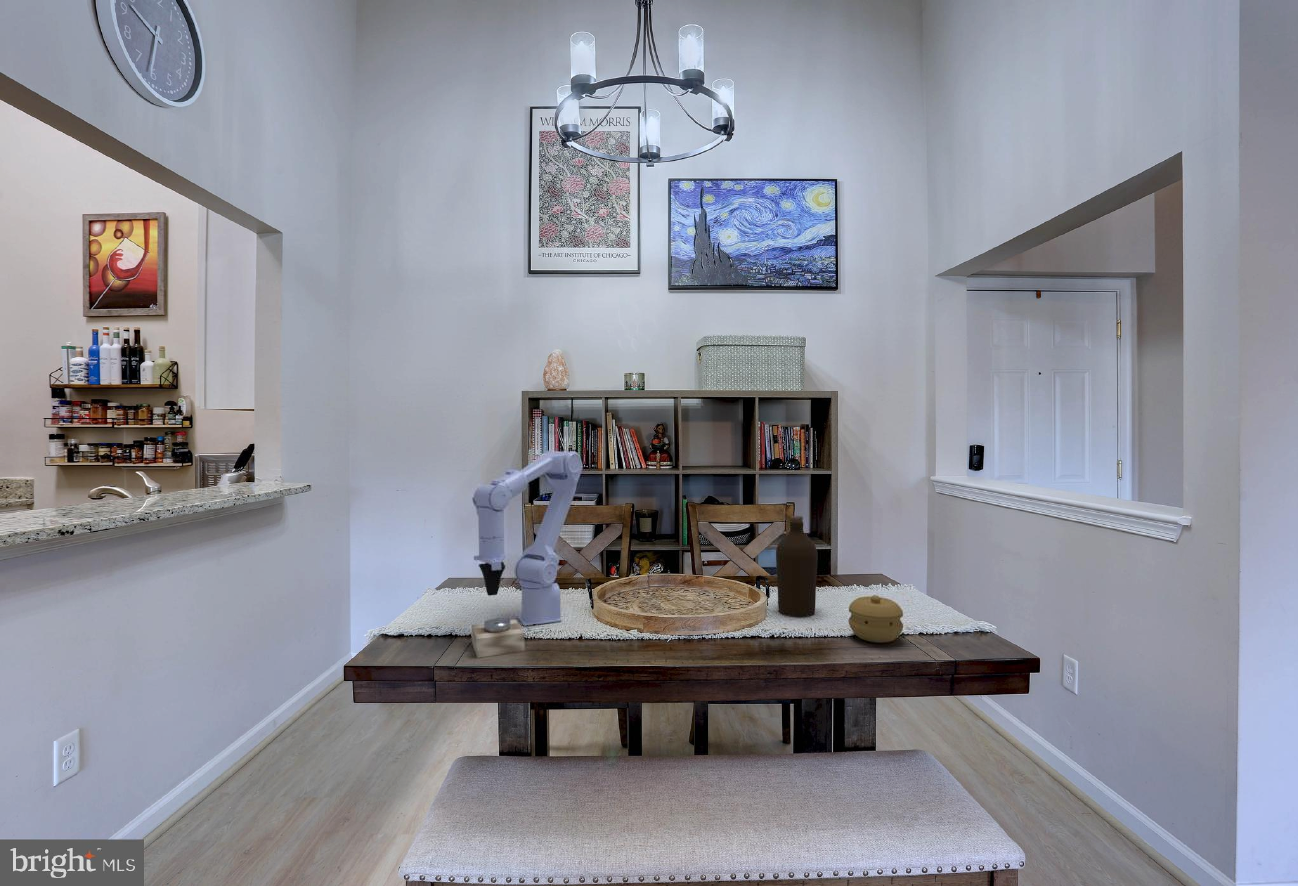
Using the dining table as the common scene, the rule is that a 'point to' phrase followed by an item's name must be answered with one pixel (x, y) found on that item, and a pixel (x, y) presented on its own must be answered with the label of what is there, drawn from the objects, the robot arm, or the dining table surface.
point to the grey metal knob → (497, 625)
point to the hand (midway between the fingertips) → (492, 594)
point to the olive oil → (796, 572)
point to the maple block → (497, 640)
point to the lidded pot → (875, 619)
